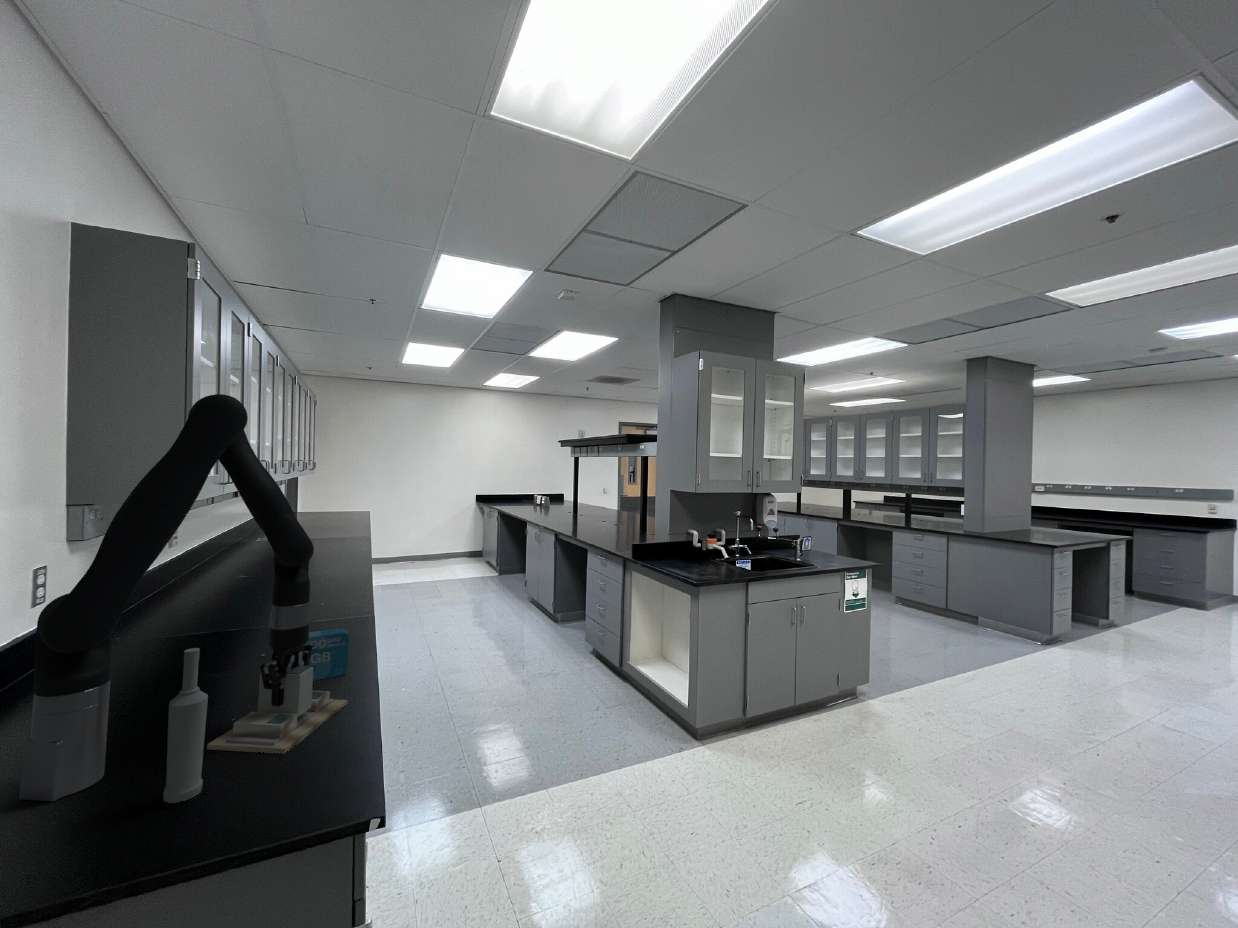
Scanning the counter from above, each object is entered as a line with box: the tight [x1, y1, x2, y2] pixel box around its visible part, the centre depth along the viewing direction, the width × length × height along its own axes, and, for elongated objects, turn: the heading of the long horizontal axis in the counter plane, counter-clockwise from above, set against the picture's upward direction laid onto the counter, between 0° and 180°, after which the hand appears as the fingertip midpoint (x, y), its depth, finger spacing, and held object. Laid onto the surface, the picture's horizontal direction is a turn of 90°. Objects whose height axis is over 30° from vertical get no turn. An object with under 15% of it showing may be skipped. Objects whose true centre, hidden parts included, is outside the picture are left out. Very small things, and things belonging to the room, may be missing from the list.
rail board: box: [206, 690, 349, 755], centre depth 112 cm, size 22×16×4 cm
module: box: [257, 665, 314, 717], centre depth 112 cm, size 4×9×9 cm, turn 88°
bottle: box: [163, 647, 209, 803], centre depth 87 cm, size 5×5×25 cm
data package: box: [303, 628, 350, 681], centre depth 138 cm, size 12×4×12 cm, turn 124°
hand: (285, 699), depth 112 cm, fingers closed on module, 4 cm apart
